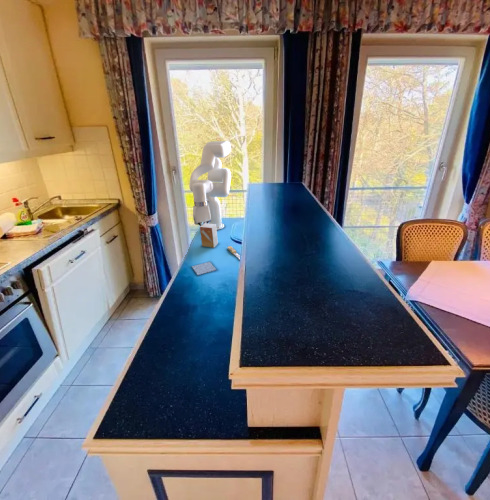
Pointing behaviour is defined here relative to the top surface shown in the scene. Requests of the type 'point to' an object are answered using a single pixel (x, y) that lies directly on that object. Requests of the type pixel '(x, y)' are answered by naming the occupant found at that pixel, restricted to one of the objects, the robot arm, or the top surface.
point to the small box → (209, 235)
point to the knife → (233, 252)
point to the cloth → (203, 268)
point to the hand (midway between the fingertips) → (203, 231)
